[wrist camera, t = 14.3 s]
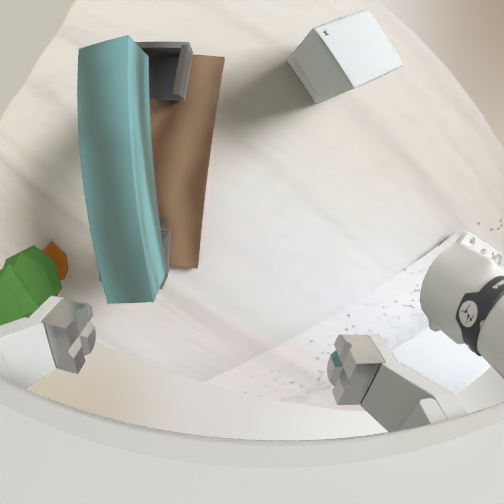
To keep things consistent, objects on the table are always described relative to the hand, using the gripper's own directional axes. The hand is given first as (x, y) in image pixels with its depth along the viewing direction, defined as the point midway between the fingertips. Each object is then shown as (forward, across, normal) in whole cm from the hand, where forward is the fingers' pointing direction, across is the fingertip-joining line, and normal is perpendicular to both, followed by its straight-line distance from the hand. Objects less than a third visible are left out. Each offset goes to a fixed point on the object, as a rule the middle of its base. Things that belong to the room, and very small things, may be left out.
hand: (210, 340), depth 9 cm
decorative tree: (+30, +28, +14) cm, 43 cm away
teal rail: (+18, +9, -3) cm, 20 cm away
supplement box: (+32, -9, -18) cm, 38 cm away
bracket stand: (+31, +10, -3) cm, 32 cm away
